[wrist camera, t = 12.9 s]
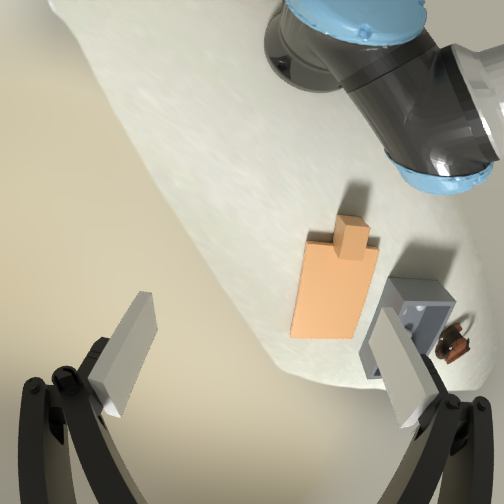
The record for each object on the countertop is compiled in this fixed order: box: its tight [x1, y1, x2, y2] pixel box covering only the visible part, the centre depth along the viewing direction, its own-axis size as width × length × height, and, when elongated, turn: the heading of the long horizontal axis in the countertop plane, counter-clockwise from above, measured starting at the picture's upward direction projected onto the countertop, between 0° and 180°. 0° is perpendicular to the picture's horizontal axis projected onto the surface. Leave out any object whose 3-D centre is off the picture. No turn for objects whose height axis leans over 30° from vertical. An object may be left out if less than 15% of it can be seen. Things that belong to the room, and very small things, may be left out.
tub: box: [359, 277, 456, 379], centre depth 49 cm, size 20×13×8 cm, turn 175°
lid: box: [290, 214, 380, 339], centre depth 47 cm, size 25×13×6 cm, turn 176°
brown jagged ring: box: [435, 324, 470, 364], centre depth 54 cm, size 12×10×8 cm
